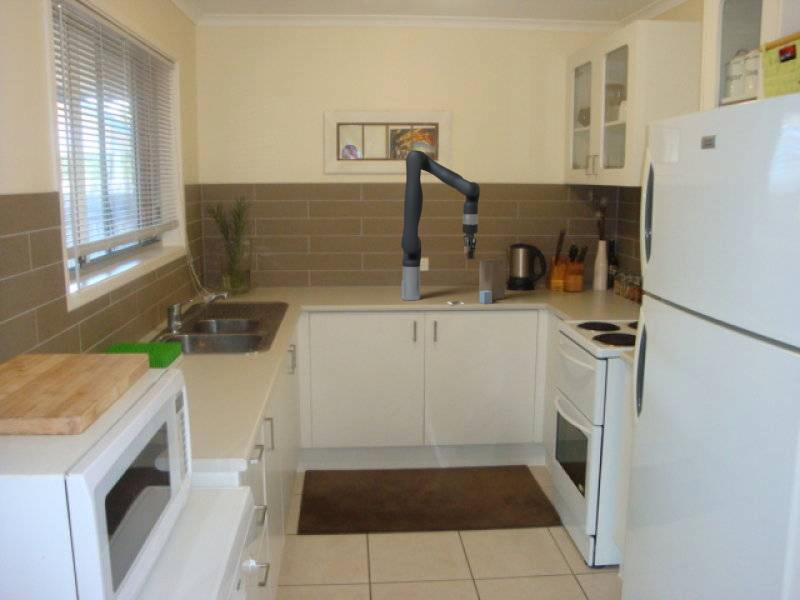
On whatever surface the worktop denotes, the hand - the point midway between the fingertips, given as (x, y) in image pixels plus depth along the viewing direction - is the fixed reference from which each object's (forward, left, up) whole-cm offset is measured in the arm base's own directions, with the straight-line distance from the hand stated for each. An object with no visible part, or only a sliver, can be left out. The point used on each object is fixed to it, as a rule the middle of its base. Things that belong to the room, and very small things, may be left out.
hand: (469, 257), depth 351 cm
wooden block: (+15, +8, -23) cm, 29 cm away
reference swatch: (-7, -1, -23) cm, 24 cm away
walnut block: (0, 0, -1) cm, 1 cm away
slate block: (+8, -3, -23) cm, 25 cm away
